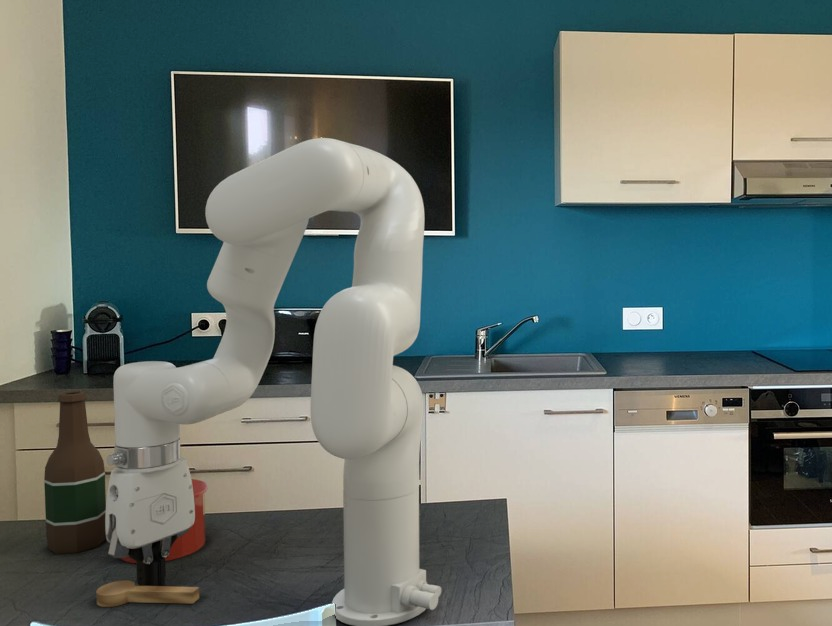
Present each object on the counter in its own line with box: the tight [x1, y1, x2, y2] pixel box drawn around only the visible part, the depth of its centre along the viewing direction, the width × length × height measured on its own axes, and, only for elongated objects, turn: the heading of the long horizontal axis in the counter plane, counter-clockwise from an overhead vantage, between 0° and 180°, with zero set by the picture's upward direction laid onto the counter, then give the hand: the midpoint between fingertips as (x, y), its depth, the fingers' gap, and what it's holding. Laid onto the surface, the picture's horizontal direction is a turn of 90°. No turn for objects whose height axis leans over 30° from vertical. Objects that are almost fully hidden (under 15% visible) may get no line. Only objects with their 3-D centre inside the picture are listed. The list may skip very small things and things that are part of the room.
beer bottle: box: [43, 390, 107, 555], centre depth 120 cm, size 8×8×24 cm
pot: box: [120, 492, 207, 564], centre depth 120 cm, size 12×12×8 cm
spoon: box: [95, 579, 200, 608], centre depth 103 cm, size 13×4×2 cm, turn 88°
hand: (151, 587), depth 105 cm, fingers closed
